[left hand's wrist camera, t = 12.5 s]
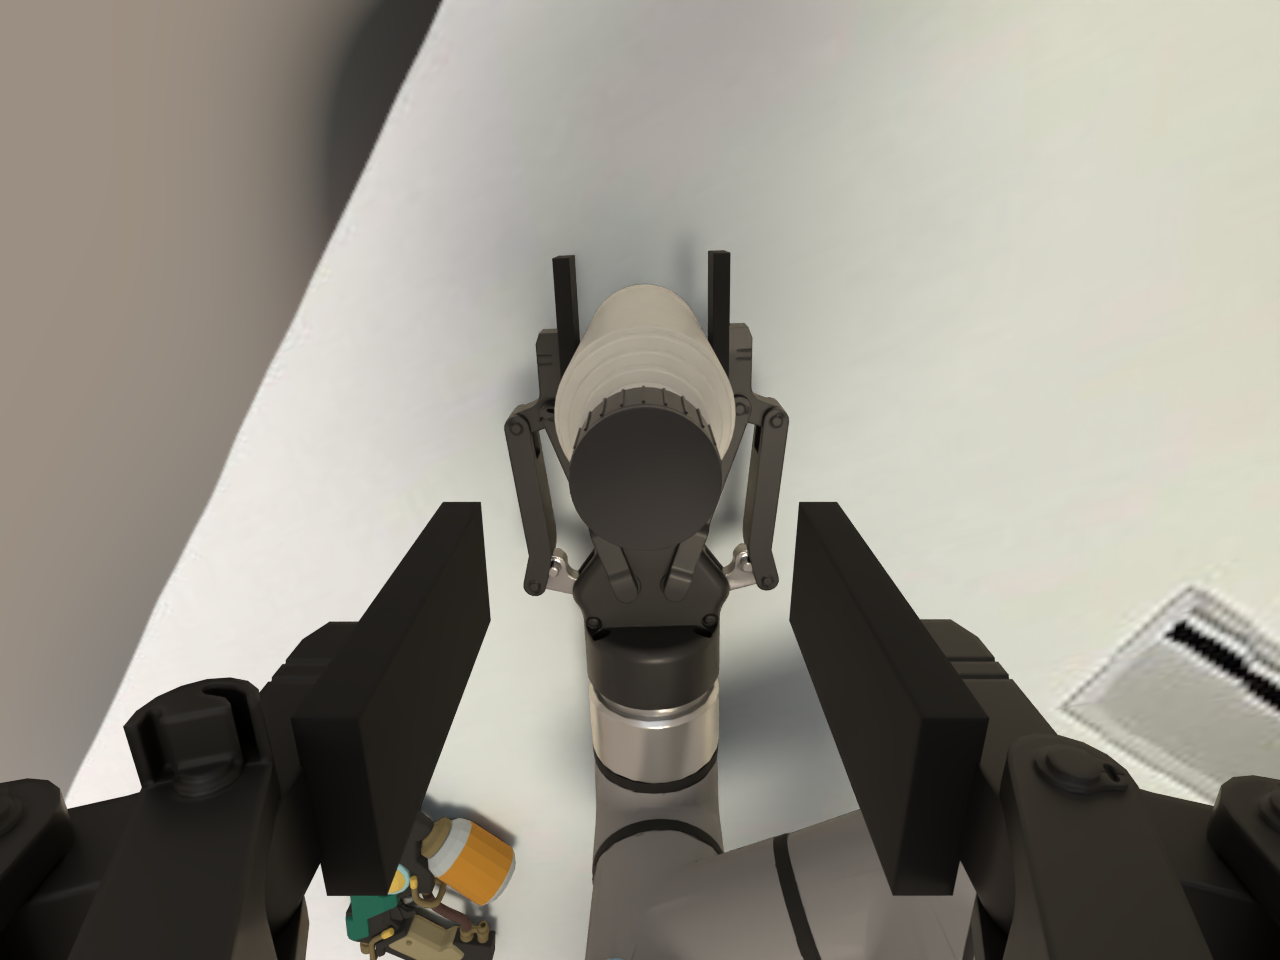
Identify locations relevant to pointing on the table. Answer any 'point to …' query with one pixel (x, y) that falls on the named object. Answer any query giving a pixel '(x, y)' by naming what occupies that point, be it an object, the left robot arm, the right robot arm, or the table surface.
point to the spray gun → (454, 860)
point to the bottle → (644, 362)
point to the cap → (645, 469)
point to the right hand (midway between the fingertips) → (641, 255)
